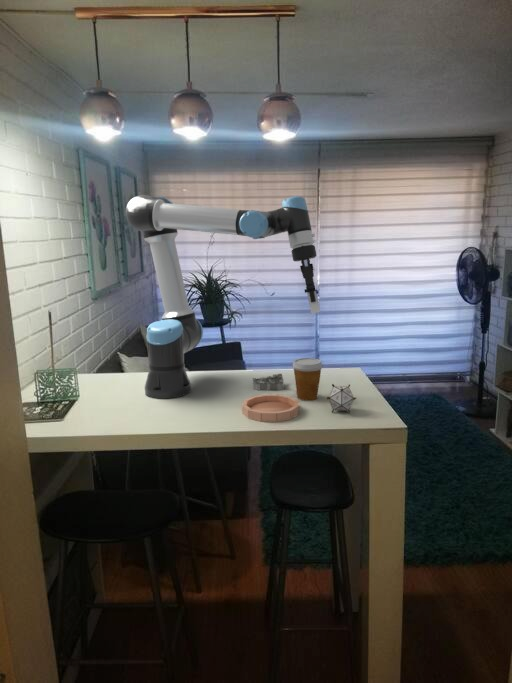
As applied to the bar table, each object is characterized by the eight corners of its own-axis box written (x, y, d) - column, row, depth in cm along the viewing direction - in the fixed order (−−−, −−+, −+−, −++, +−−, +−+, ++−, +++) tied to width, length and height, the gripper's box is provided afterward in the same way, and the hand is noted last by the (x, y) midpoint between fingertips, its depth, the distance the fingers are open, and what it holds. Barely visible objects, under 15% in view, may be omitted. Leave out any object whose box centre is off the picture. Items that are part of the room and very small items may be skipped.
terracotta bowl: (234, 407, 154) (234, 399, 154) (282, 399, 161) (282, 391, 161) (257, 425, 140) (257, 416, 139) (308, 415, 147) (309, 407, 146)
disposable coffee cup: (321, 393, 166) (322, 357, 164) (322, 402, 157) (323, 365, 155) (292, 392, 167) (292, 357, 165) (291, 402, 158) (291, 365, 156)
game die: (333, 422, 151) (316, 393, 153) (356, 409, 153) (339, 380, 155) (343, 417, 143) (324, 387, 144) (367, 403, 145) (348, 373, 147)
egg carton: (283, 384, 178) (283, 373, 177) (284, 391, 170) (284, 379, 169) (252, 384, 178) (252, 373, 177) (252, 391, 171) (252, 379, 170)
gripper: (314, 238, 148) (328, 310, 148) (314, 249, 172) (326, 310, 173) (288, 244, 149) (302, 315, 149) (292, 253, 173) (305, 315, 174)
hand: (315, 313), depth 161 cm, fingers open, 13 cm apart
